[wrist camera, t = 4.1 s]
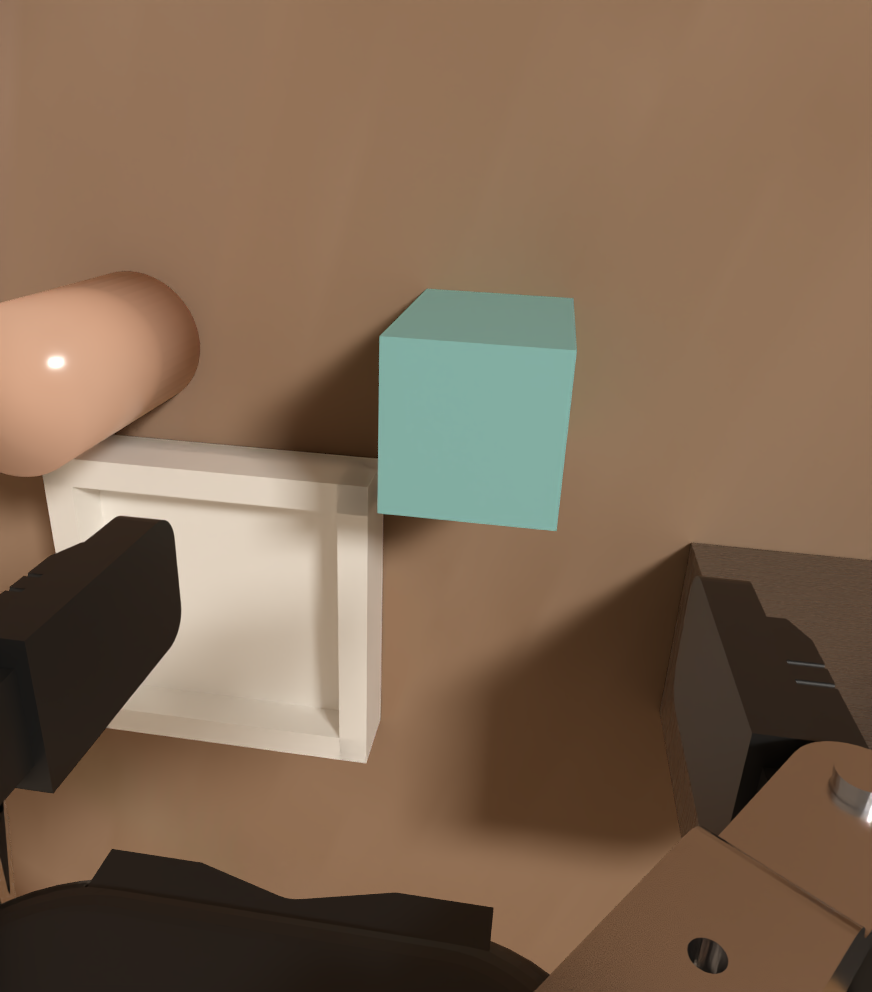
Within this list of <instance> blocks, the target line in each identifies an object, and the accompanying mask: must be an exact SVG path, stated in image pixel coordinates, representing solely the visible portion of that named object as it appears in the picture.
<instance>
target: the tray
mask: <svg viewBox="0 0 872 992" xmlns="http://www.w3.org/2000/svg"><path fill="white" fill-rule="evenodd" d="M43 481H44V487H45V493H46V499H47V505H48V510H49V516H50V522H51V528H52V534H53V540H54V546H55V552H56V553H58V552H60V551H62V550H65V549H67V548H69V547H72V546H74V545H76V544H79V543H81V542H85V541H86V540H87V539H88V538H90V537H91V536H92V535H94V534H95V533H96V532H97V531H99V530H100V529H101V528H102V527H104V526H105V525H106V524H107V523H109V522H110V521H111V520H112V519H114V518H115V517H117V516H130V517H140V518H150V519H160V520H166V521H168V522H169V523H170V525H171V526H172V529H173V532H174V537H175V547H176V557H177V567H178V578H179V588H180V598H181V621H180V627H179V630H178V634H177V636H176V639H175V641H174V643H173V645H172V646H171V648H170V649H169V650H168V651H167V653H166V654H165V655H164V656H163V658H162V659H161V660H160V661H159V663H158V664H157V665H156V666H155V668H154V669H153V670H152V671H151V673H150V674H149V675H148V676H147V678H146V679H145V680H144V681H143V683H142V684H141V685H140V686H139V687H138V689H137V690H136V691H135V692H134V694H133V695H132V696H131V697H130V699H129V700H128V701H127V702H126V704H125V705H124V706H123V707H122V709H121V710H120V711H119V712H118V714H117V715H116V716H115V717H114V719H113V720H112V721H111V722H110V724H109V725H108V726H107V727H106V728H111V729H118V730H125V731H133V732H140V733H147V734H155V735H162V736H169V737H177V738H184V739H191V740H199V741H206V742H213V743H221V744H228V745H235V746H243V747H250V748H257V749H265V750H272V751H279V752H287V753H294V754H301V755H309V756H316V757H323V758H331V759H338V760H345V761H353V762H360V763H366V762H367V759H368V756H369V753H370V750H371V747H372V744H373V741H374V738H375V734H376V731H377V728H378V725H379V722H380V712H381V644H382V577H383V514H380V513H377V504H378V459H377V458H366V457H354V456H343V455H332V454H321V453H310V452H299V451H288V450H277V449H266V448H255V447H244V446H233V445H222V444H211V443H200V442H189V441H178V440H166V439H155V438H144V437H133V436H122V435H111V436H109V437H108V438H106V439H105V440H103V441H101V442H100V443H98V444H97V445H95V446H93V447H92V448H90V449H89V450H87V451H85V452H84V453H82V454H81V455H79V456H77V457H76V458H74V459H73V460H71V461H69V462H68V463H66V464H65V465H63V466H62V467H60V468H58V469H57V470H55V471H52V472H50V473H48V474H44V475H43Z"/></svg>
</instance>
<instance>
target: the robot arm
mask: <svg viewBox="0 0 872 992" xmlns="http://www.w3.org/2000/svg"><path fill="white" fill-rule="evenodd" d="M180 621H181V598H180V588H179V578H178V567H177V557H176V547H175V537H174V532H173V529H172V526H171V525H170V523H169V522H168V521H166V520H160V519H150V518H140V517H130V516H117V517H115V518H114V519H112V520H111V521H110V522H109V523H107V524H106V525H105V526H104V527H102V528H101V529H100V530H99V531H97V532H96V533H95V534H94V535H92V536H91V537H90V538H88V539H87V540H86V541H85V542H81V543H79V544H76V545H74V546H72V547H69V548H67V549H65V550H62V551H60V552H58V553H55V554H53V555H51V556H49V557H48V558H47V559H45V560H44V561H43V562H41V563H40V564H39V565H38V566H36V567H35V568H34V569H32V570H31V571H30V572H28V576H23V577H22V578H21V579H19V580H18V581H17V582H16V583H14V584H13V585H12V586H10V590H9V591H4V592H3V593H1V594H0V992H872V750H870V749H869V747H868V745H867V744H866V742H865V740H864V738H863V736H862V734H861V732H860V730H859V728H858V726H857V724H856V723H855V721H854V719H853V717H852V715H851V713H850V711H849V709H848V707H847V705H846V703H845V702H844V700H843V698H842V696H841V694H840V692H839V690H838V689H835V683H834V681H833V679H832V677H831V675H830V673H829V671H828V669H825V663H824V662H823V660H822V658H821V656H820V654H819V652H818V650H817V648H816V646H815V644H814V642H813V641H812V640H811V639H810V638H809V637H808V636H807V635H805V634H804V633H803V632H802V631H801V630H799V629H798V628H797V627H796V626H795V625H793V624H792V623H791V622H790V621H789V620H787V619H785V618H776V617H767V616H766V614H765V612H764V610H763V607H762V605H761V603H760V601H759V599H758V596H757V594H756V592H755V590H754V588H753V585H752V584H751V582H750V581H744V580H735V579H725V578H715V577H705V576H696V577H695V578H694V580H693V583H692V586H691V589H690V594H689V599H688V605H687V610H686V615H685V620H684V626H683V631H682V636H681V641H680V647H679V652H678V657H677V663H676V668H675V678H674V705H675V712H676V716H677V721H678V726H679V731H680V736H681V740H682V745H683V750H684V755H685V760H686V765H687V769H688V774H689V779H690V784H691V789H692V793H693V798H694V803H695V808H696V813H697V818H698V822H699V826H697V827H694V828H693V829H692V830H690V831H689V832H688V833H687V834H686V835H685V836H684V837H683V838H682V839H681V840H680V841H679V842H678V843H677V844H676V845H675V846H674V847H673V848H672V849H671V850H670V851H669V852H668V853H667V854H666V855H665V856H664V857H663V858H662V859H661V860H660V861H659V862H658V863H657V865H656V866H655V867H654V868H653V869H652V870H651V871H650V872H649V873H648V874H647V875H646V876H645V877H644V878H643V879H642V880H641V881H640V882H639V883H638V884H637V885H636V886H635V887H634V888H633V889H632V890H631V891H630V893H629V894H628V895H627V896H626V897H625V898H624V899H623V900H622V901H621V902H620V903H619V904H618V905H617V906H616V907H615V908H614V909H613V910H612V911H611V912H610V913H609V914H608V915H607V916H606V917H605V918H604V919H603V920H602V922H601V923H600V924H599V925H598V926H597V927H596V928H595V929H594V930H593V931H592V932H591V933H590V934H589V935H588V936H587V937H586V938H585V939H584V940H583V941H582V942H581V943H580V944H579V945H578V946H577V947H576V948H575V950H574V951H573V952H572V953H571V954H570V955H569V956H568V957H567V958H566V959H565V960H564V961H563V962H562V963H561V964H560V965H559V966H558V967H557V968H556V969H555V970H554V971H553V972H552V973H551V974H550V975H549V974H548V973H547V972H545V971H544V970H543V969H541V968H540V967H538V966H537V965H536V964H534V963H533V962H531V961H530V960H528V959H526V958H524V957H523V956H521V955H519V954H517V953H515V952H514V951H512V950H510V949H508V948H506V947H503V946H501V945H499V944H496V943H494V942H492V941H490V940H491V929H492V918H493V908H492V907H486V906H479V905H473V904H466V903H460V902H453V901H447V900H440V899H434V898H427V897H421V896H414V895H408V894H401V893H383V894H369V895H354V896H340V897H326V898H312V899H288V898H284V897H281V896H278V895H276V894H273V893H271V892H269V891H266V890H264V889H262V888H259V887H257V886H255V885H252V884H250V883H248V882H245V881H243V880H241V879H238V878H236V877H234V876H231V875H229V874H227V873H224V872H222V871H220V870H217V869H215V868H213V867H210V866H208V865H206V864H203V863H200V862H193V861H187V860H180V859H174V858H167V857H161V856H154V855H148V854H141V853H135V852H128V851H122V850H115V849H112V850H111V851H110V853H109V854H108V856H107V857H106V859H105V860H104V862H103V863H102V865H101V867H100V868H99V870H98V871H97V873H96V874H95V876H94V877H93V879H92V880H87V881H78V882H73V883H67V884H61V885H56V886H52V887H49V888H45V889H41V890H38V891H34V892H31V893H28V894H25V895H23V896H20V897H17V898H16V896H15V884H14V872H13V861H12V849H11V837H10V825H9V817H8V812H7V807H6V803H5V799H6V798H7V797H8V796H9V794H10V793H11V792H12V791H13V790H14V789H15V788H20V789H27V790H33V791H40V792H47V793H54V792H55V791H56V789H57V788H58V787H59V786H60V784H61V783H62V782H63V781H64V779H65V778H66V777H67V776H68V774H69V773H70V772H71V771H72V770H73V768H74V767H75V766H76V765H77V763H78V762H79V761H80V760H81V758H82V757H83V756H84V755H85V753H86V752H87V751H88V750H89V748H90V747H91V746H92V745H93V743H94V742H95V741H96V740H97V738H98V737H99V736H100V735H101V733H102V732H103V731H104V730H105V729H106V727H107V726H108V725H109V724H110V722H111V721H112V720H113V719H114V717H115V716H116V715H117V714H118V712H119V711H120V710H121V709H122V707H123V706H124V705H125V704H126V702H127V701H128V700H129V699H130V697H131V696H132V695H133V694H134V692H135V691H136V690H137V689H138V687H139V686H140V685H141V684H142V683H143V681H144V680H145V679H146V678H147V676H148V675H149V674H150V673H151V671H152V670H153V669H154V668H155V666H156V665H157V664H158V663H159V661H160V660H161V659H162V658H163V656H164V655H165V654H166V653H167V651H168V650H169V649H170V648H171V646H172V645H173V643H174V641H175V639H176V636H177V634H178V630H179V627H180Z"/></svg>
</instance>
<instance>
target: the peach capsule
mask: <svg viewBox="0 0 872 992" xmlns="http://www.w3.org/2000/svg"><path fill="white" fill-rule="evenodd" d="M199 356H200V341H199V335H198V331H197V327H196V324H195V322H194V319H193V317H192V315H191V313H190V311H189V309H188V308H187V306H186V305H185V304H184V302H183V301H182V300H181V299H180V297H179V296H178V295H177V294H176V293H175V292H174V291H173V290H172V289H171V288H169V287H168V286H167V285H165V284H164V283H162V282H161V281H159V280H157V279H155V278H153V277H151V276H148V275H146V274H142V273H138V272H131V271H121V272H114V273H110V274H106V275H103V276H99V277H95V278H92V279H88V280H84V281H80V282H77V283H73V284H69V285H65V286H62V287H58V288H54V289H50V290H47V291H43V292H39V293H35V294H32V295H28V296H24V297H21V298H17V299H13V300H9V301H6V302H2V303H0V473H4V474H7V475H12V476H19V477H33V476H40V475H44V474H48V473H50V472H52V471H55V470H57V469H58V468H60V467H62V466H63V465H65V464H66V463H68V462H69V461H71V460H73V459H74V458H76V457H77V456H79V455H81V454H82V453H84V452H85V451H87V450H89V449H90V448H92V447H93V446H95V445H97V444H98V443H100V442H101V441H103V440H105V439H106V438H108V437H109V436H111V435H113V434H114V433H116V432H117V431H119V430H121V429H122V428H124V427H125V426H127V425H129V424H130V423H132V422H133V421H135V420H137V419H138V418H140V417H141V416H143V415H144V414H146V413H148V412H149V411H151V410H152V409H154V408H156V407H157V406H159V405H160V404H162V403H164V402H165V401H167V400H168V399H170V398H172V397H173V396H175V395H176V394H178V393H180V392H181V391H182V390H183V389H184V388H185V387H186V386H187V385H188V384H189V382H190V381H191V379H192V378H193V376H194V374H195V372H196V369H197V366H198V362H199Z"/></svg>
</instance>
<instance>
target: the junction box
mask: <svg viewBox="0 0 872 992" xmlns="http://www.w3.org/2000/svg"><path fill="white" fill-rule="evenodd" d="M696 576H705V577H715V578H725V579H735V580H744V581H750V582H751V584H752V585H753V588H754V590H755V592H756V594H757V596H758V599H759V601H760V603H761V605H762V607H763V610H764V612H765V614H766V616H767V617H776V618H785V619H787V620H789V621H790V622H791V623H792V624H793V625H795V626H796V627H797V628H798V629H799V630H801V631H802V632H803V633H804V634H805V635H807V636H808V637H809V638H810V639H811V640H812V641H813V642H814V644H815V646H816V648H817V650H818V652H819V654H820V656H821V658H822V660H823V662H824V663H825V669H828V671H829V673H830V675H831V677H832V679H833V681H834V683H835V689H838V690H839V692H840V694H841V696H842V698H843V700H844V702H845V703H846V705H847V707H848V709H849V711H850V713H851V715H852V717H853V719H854V721H855V723H856V724H857V726H858V728H859V730H860V732H861V734H862V736H863V738H864V740H865V742H866V744H867V745H868V747H869V749H870V750H872V561H870V560H860V559H850V558H840V557H830V556H819V555H809V554H799V553H789V552H779V551H769V550H758V549H748V548H738V547H728V546H718V545H708V544H698V543H691V547H690V553H689V558H688V563H687V569H686V574H685V579H684V585H683V590H682V595H681V601H680V606H679V611H678V617H677V622H676V627H675V633H674V638H673V643H672V649H671V654H670V659H669V665H668V670H667V675H666V680H665V686H664V691H663V696H662V702H661V707H660V717H661V723H662V729H663V735H664V740H665V746H666V752H667V758H668V764H669V769H670V775H671V781H672V787H673V793H674V798H675V804H676V810H677V816H678V822H679V827H680V833H681V839H682V838H683V837H684V836H685V835H686V834H687V833H688V832H689V831H690V830H692V829H693V828H694V827H697V826H699V822H698V818H697V813H696V808H695V803H694V798H693V793H692V789H691V784H690V779H689V774H688V769H687V765H686V760H685V755H684V750H683V745H682V740H681V736H680V731H679V726H678V721H677V716H676V712H675V705H674V678H675V668H676V663H677V657H678V652H679V647H680V641H681V636H682V631H683V626H684V620H685V615H686V610H687V605H688V599H689V594H690V589H691V586H692V583H693V580H694V578H695V577H696Z"/></svg>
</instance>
